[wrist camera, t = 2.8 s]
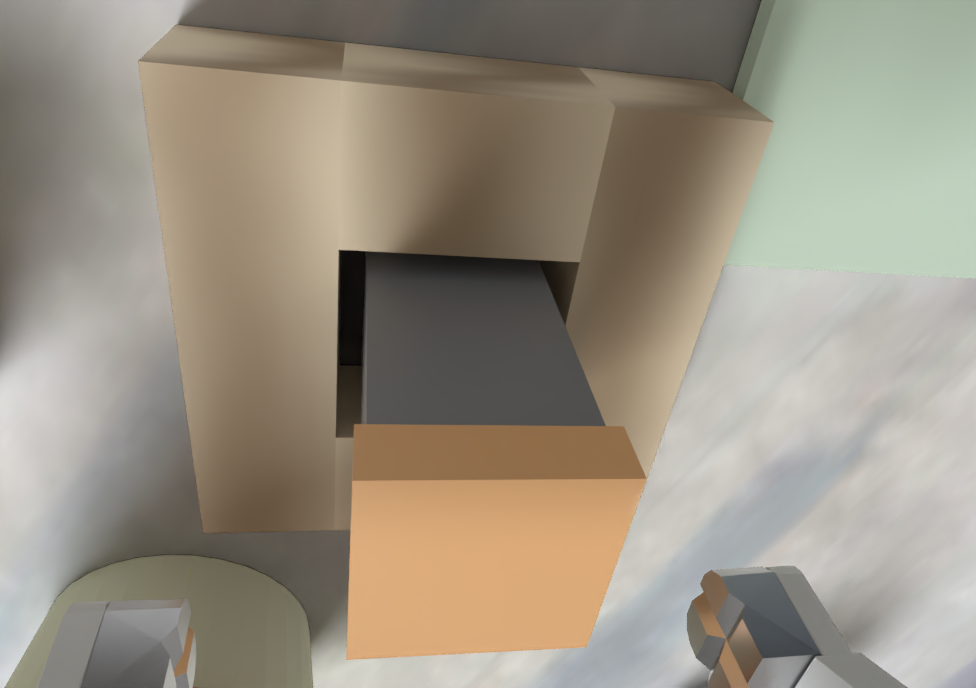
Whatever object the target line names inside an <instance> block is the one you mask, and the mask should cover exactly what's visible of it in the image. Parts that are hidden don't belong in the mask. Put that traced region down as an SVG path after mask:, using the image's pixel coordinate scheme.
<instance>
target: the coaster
mask: <svg viewBox="0 0 976 688" xmlns="http://www.w3.org/2000/svg"><path fill="white" fill-rule="evenodd" d="M732 93H733V94H734V95H736V96H737V97H738V98H740V99H741V100H743V101H744V102H746V103H747V104H749V105H750V106H752V107H753V108H754V109H756V110H757V111H759V112H760V113H762V114H763V115H765V116H766V117H768V118H769V119H770V120H772V121H773V122H775V123H774V125H773V128H772V131H771V134H770V137H769V139H768V142H767V145H766V148H765V151H764V153H763V156H762V159H761V162H760V165H759V167H758V170H757V173H756V176H755V179H754V181H753V184H752V187H751V190H750V193H749V195H748V198H747V201H746V204H745V207H744V209H743V212H742V215H741V218H740V221H739V223H738V226H737V229H736V232H735V235H734V237H733V240H732V243H731V246H730V249H729V251H728V254H727V257H726V260H725V263H724V265H735V266H754V267H773V268H791V269H810V270H828V271H847V272H866V273H884V274H903V275H921V276H940V277H959V278H976V0H762V1H761V4H760V7H759V10H758V13H757V16H756V19H755V23H754V26H753V29H752V32H751V35H750V38H749V42H748V45H747V48H746V51H745V54H744V57H743V61H742V64H741V67H740V70H739V73H738V76H737V80H736V83H735V86H734V89H733V92H732Z"/></svg>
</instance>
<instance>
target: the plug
mask: <svg viewBox="0 0 976 688" xmlns="http://www.w3.org/2000/svg"><path fill="white" fill-rule="evenodd" d="M646 480H647V478H646V476H645V474H644V471H643V469H642V467H641V464H640V462H639V460H638V458H637V455H636V453H635V451H634V448H633V446H632V444H631V442H630V439H629V437H628V435H627V432H626V430H625V428H624V426H606V425H605V423H604V420H603V418H602V415H601V413H600V410H599V408H598V405H597V403H596V400H595V398H594V396H593V393H592V391H591V388H590V386H589V383H588V381H587V378H586V376H585V373H584V371H583V369H582V366H581V364H580V361H579V359H578V356H577V354H576V351H575V349H574V346H573V344H572V341H571V339H570V337H569V334H568V332H567V329H566V327H565V324H564V322H563V319H562V317H561V314H560V312H559V310H558V307H557V305H556V302H555V300H554V297H553V295H552V292H551V290H550V287H549V285H548V282H547V280H546V278H545V275H544V273H543V270H542V268H541V265H540V263H539V260H525V259H506V258H487V257H468V256H449V255H430V254H410V253H391V252H372V251H366V253H365V279H364V304H363V330H362V375H361V424H354V436H353V466H352V496H351V525H350V555H349V584H348V618H347V657H346V660H351V659H370V658H389V657H408V656H427V655H446V654H465V653H484V652H503V651H522V650H541V649H560V648H579V647H587V645H588V642H589V639H590V636H591V634H592V631H593V628H594V625H595V622H596V620H597V617H598V614H599V611H600V608H601V606H602V603H603V600H604V597H605V594H606V592H607V589H608V586H609V583H610V580H611V578H612V575H613V572H614V569H615V566H616V564H617V561H618V558H619V555H620V552H621V550H622V547H623V544H624V541H625V538H626V536H627V533H628V530H629V527H630V524H631V522H632V519H633V516H634V513H635V510H636V508H637V505H638V502H639V499H640V496H641V494H642V491H643V488H644V485H645V483H646Z"/></svg>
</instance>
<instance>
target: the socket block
mask: <svg viewBox="0 0 976 688" xmlns="http://www.w3.org/2000/svg"><path fill="white" fill-rule="evenodd" d="M138 64H139V72H140V79H141V86H142V93H143V101H144V108H145V115H146V122H147V130H148V137H149V144H150V152H151V159H152V166H153V173H154V181H155V188H156V195H157V202H158V210H159V217H160V224H161V231H162V239H163V246H164V253H165V260H166V268H167V275H168V282H169V289H170V297H171V304H172V311H173V318H174V326H175V333H176V340H177V348H178V355H179V362H180V369H181V377H182V384H183V391H184V398H185V406H186V413H187V420H188V427H189V435H190V442H191V449H192V456H193V464H194V471H195V478H196V485H197V493H198V500H199V507H200V515H201V522H202V529H203V533H237V532H287V531H336V530H350V525H351V496H352V466H353V436H354V424H361V375H362V366H341V365H339V364H340V307H341V251H342V250H353V251H372V252H391V253H410V254H430V255H449V256H468V257H487V258H506V259H525V260H541V261H540V265H541V268H542V270H543V273H544V275H545V278H546V280H547V282H548V285H549V287H550V290H551V292H552V295H553V297H554V300H555V302H556V305H557V307H558V310H559V312H560V314H561V317H562V319H563V322H564V324H565V327H566V329H567V332H568V334H569V337H570V339H571V341H572V344H573V346H574V349H575V351H576V354H577V356H578V359H579V361H580V364H581V366H582V369H583V371H584V373H585V376H586V378H587V381H588V383H589V386H590V388H591V391H592V393H593V396H594V398H595V400H596V403H597V405H598V408H599V410H600V413H601V415H602V418H603V420H604V423H605V425H606V426H624V428H625V430H626V432H627V435H628V437H629V439H630V442H631V444H632V446H633V448H634V451H635V453H636V455H637V458H638V460H639V462H640V464H641V467H642V469H643V471H644V474H645V476H646V478H648V475H649V472H650V470H651V467H652V464H653V461H654V458H655V456H656V453H657V450H658V447H659V444H660V442H661V439H662V436H663V433H664V431H665V428H666V425H667V422H668V419H669V417H670V414H671V411H672V408H673V405H674V403H675V400H676V397H677V394H678V391H679V389H680V386H681V383H682V380H683V377H684V375H685V372H686V369H687V366H688V363H689V361H690V358H691V355H692V352H693V349H694V347H695V344H696V341H697V338H698V335H699V333H700V330H701V327H702V324H703V321H704V319H705V316H706V313H707V310H708V307H709V305H710V302H711V299H712V296H713V293H714V291H715V288H716V285H717V282H718V279H719V277H720V274H721V271H722V268H723V265H724V263H725V260H726V257H727V254H728V251H729V249H730V246H731V243H732V240H733V237H734V235H735V232H736V229H737V226H738V223H739V221H740V218H741V215H742V212H743V209H744V207H745V204H746V201H747V198H748V195H749V193H750V190H751V187H752V184H753V181H754V179H755V176H756V173H757V170H758V167H759V165H760V162H761V159H762V156H763V153H764V151H765V148H766V145H767V142H768V139H769V137H770V134H771V131H772V128H773V125H774V123H775V122H773V121H772V120H770V119H769V118H768V117H766V116H765V115H763V114H762V113H760V112H759V111H757V110H756V109H754V108H753V107H752V106H750V105H749V104H747V103H746V102H744V101H743V100H741V99H740V98H738V97H737V96H736V95H734V94H733V93H731V92H730V91H728V90H727V89H725V88H724V87H723V86H721V85H720V84H718V83H717V82H713V81H703V80H694V79H684V78H675V77H666V76H656V75H647V74H637V73H628V72H618V71H609V70H600V69H590V68H581V67H571V66H562V65H553V64H543V63H534V62H524V61H515V60H505V59H496V58H487V57H477V56H468V55H458V54H449V53H439V52H430V51H421V50H411V49H402V48H392V47H383V46H373V45H364V44H355V43H345V42H336V41H326V40H317V39H307V38H298V37H289V36H279V35H270V34H260V33H251V32H241V31H232V30H223V29H213V28H204V27H194V26H185V25H175V26H174V27H173V28H172V29H171V30H170V31H169V32H168V33H167V34H166V35H165V36H164V37H163V38H162V39H161V40H160V41H158V42H157V43H156V44H155V45H154V46H153V47H152V48H151V49H150V50H149V51H148V52H147V53H146V54H145V55H144V56H143V57H142V58H141V59H140V60H139V61H138ZM646 481H647V480H646ZM645 484H646V483H645ZM644 486H645V485H644ZM643 489H644V488H643ZM642 492H643V491H642ZM641 495H642V494H641ZM640 498H641V496H640ZM639 500H640V499H639ZM638 503H639V502H638ZM637 506H638V505H637ZM636 509H637V508H636ZM635 512H636V510H635ZM634 514H635V513H634ZM633 517H634V516H633ZM632 520H633V519H632ZM631 523H632V522H631ZM630 525H631V524H630Z"/></svg>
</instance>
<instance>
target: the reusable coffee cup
mask: <svg viewBox="0 0 976 688" xmlns="http://www.w3.org/2000/svg"><path fill="white" fill-rule="evenodd" d="M182 598H188V600H189V604H190V609H191V616H190V621H189V626H188V627H189V628H191V629H192V630H194V632H195V639H196V665H195V676H194V683H193V688H313V675H312V661H311V647H310V632H309V625H308V620H307V615H306V613H305V611H304V609H303V608H302V606H301V604H300V602H299V601H298V600H297V599H296V598H295V597H294V596H293V595H292V594H291V593H290V592H289V590H288V589H287V588H285V587H284V586H282V585H281V584H279V583H278V582H276V581H275V580H273V579H272V578H270V577H269V576H267V575H265V574H262V573H260V572H258V571H256V570H253V569H251V568H249V567H246V566H243V565H239V564H236V563H232V562H229V561H225V560H221V559H215V558H208V557H201V556H192V555H160V556H149V557H139V558H135V559H130V560H126V561H121V562H117V563H113V564H110V565H108V566H105V567H102V568H100V569H97V570H95V571H92V572H90V573H88V574H86V575H85V576H83V577H82V578H80V579H78V580H77V581H75V582H73V583H72V584H70V585H69V586H68V587H67V588H66V589H65V590H64V591H63V592H62V593H61V594H60V595H59V596H58V597H57V598H56V600H55V602H54V604H53V605H52V607H51V609H50V611H49V612H48V614H47V616H46V617H45V619H44V621H43V623H42V624H41V626H40V628H39V629H38V631H37V633H36V635H35V636H34V638H33V640H32V641H31V643H30V645H29V647H28V648H27V650H26V652H25V653H24V655H23V657H22V659H21V660H20V662H19V664H18V665H17V667H16V669H15V671H14V672H13V674H12V676H11V677H10V679H9V681H8V683H7V684H6V686H5V688H36V687H37V684H38V682H39V679H40V676H41V674H42V671H43V668H44V665H45V663H46V660H47V657H48V655H49V652H50V649H51V647H52V644H53V641H54V639H55V636H56V633H57V631H58V628H59V625H60V623H61V620H62V617H63V615H64V613H65V612H66V611H67V609H68V608H69V606H70V605H71V603H77V602H97V601H127V600H155V599H182Z"/></svg>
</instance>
